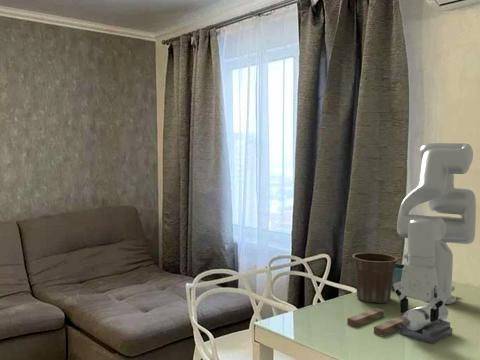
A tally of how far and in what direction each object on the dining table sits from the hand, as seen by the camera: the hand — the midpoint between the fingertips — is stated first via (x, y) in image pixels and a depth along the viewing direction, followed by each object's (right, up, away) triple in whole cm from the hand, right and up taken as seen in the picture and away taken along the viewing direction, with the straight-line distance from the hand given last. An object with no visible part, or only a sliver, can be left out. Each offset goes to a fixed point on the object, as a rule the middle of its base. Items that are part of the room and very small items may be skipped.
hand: (418, 316), depth 151 cm
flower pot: (+9, -3, +54) cm, 55 cm away
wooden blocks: (-9, -6, +11) cm, 15 cm away
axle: (+3, -4, +3) cm, 6 cm away
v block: (+3, -6, +3) cm, 8 cm away
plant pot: (-3, -4, +38) cm, 39 cm away
